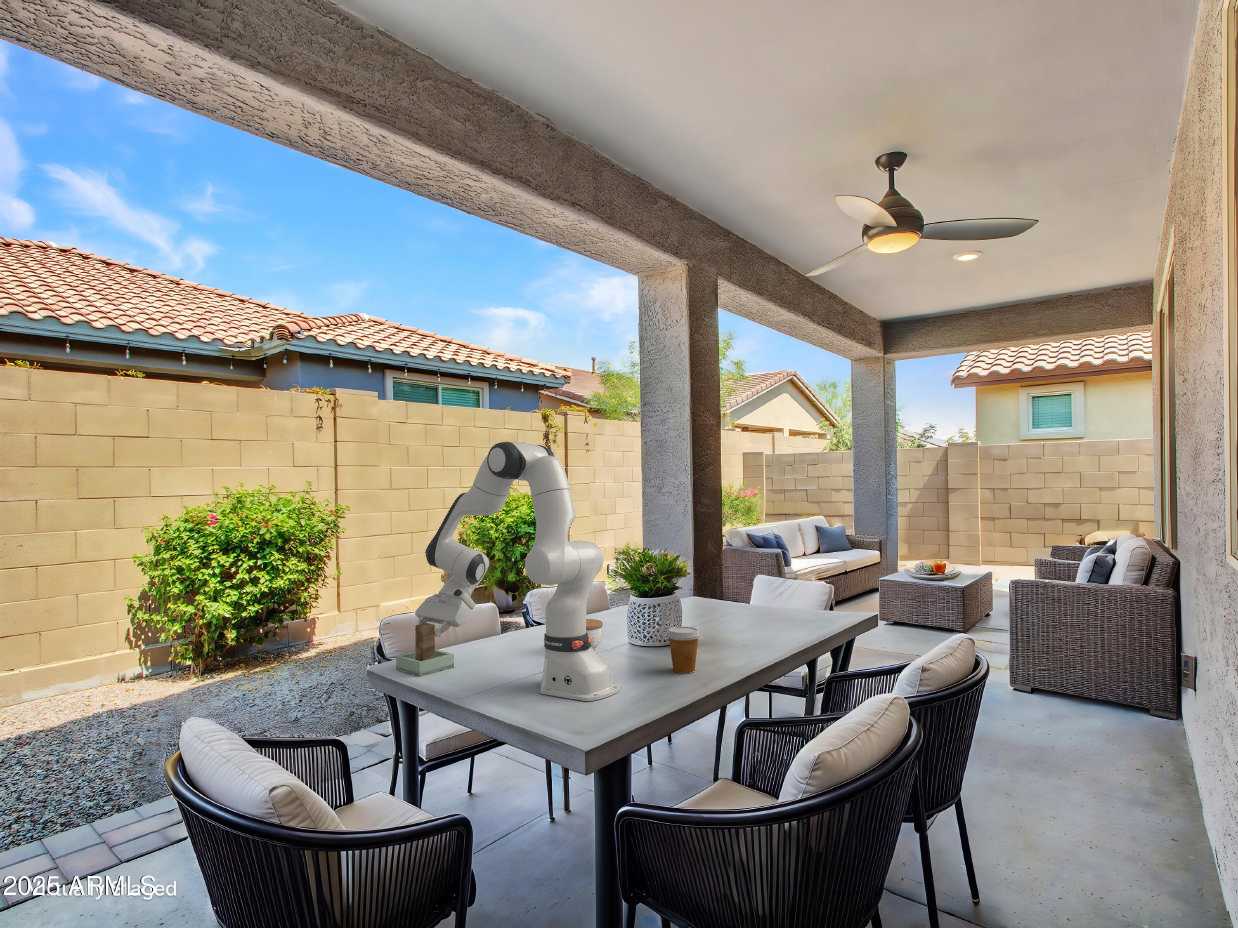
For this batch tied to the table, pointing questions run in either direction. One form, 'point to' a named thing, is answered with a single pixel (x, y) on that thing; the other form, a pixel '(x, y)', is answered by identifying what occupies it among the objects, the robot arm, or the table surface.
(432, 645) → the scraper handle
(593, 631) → the lidded bowl
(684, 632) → the disposable coffee cup
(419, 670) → the tray
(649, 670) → the table surface
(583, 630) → the robot arm
